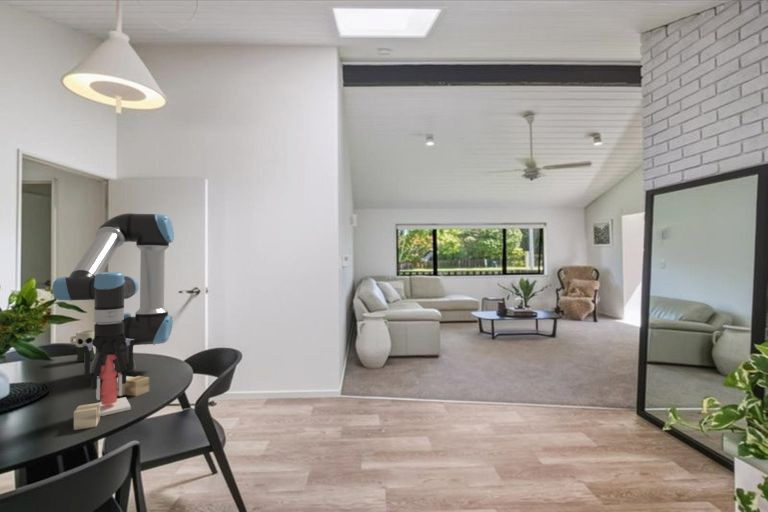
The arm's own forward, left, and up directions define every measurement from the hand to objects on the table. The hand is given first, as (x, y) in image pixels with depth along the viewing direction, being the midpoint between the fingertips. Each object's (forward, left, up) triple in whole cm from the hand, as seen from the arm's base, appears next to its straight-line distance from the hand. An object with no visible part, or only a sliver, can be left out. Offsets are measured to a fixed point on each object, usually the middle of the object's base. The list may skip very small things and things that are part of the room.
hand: (109, 396), depth 118 cm
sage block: (-14, +5, -4) cm, 15 cm away
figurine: (0, 0, -2) cm, 2 cm away
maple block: (+9, -6, -4) cm, 12 cm away
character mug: (-70, -1, -4) cm, 71 cm away
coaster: (0, 0, -4) cm, 4 cm away
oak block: (-10, +9, -4) cm, 14 cm away
